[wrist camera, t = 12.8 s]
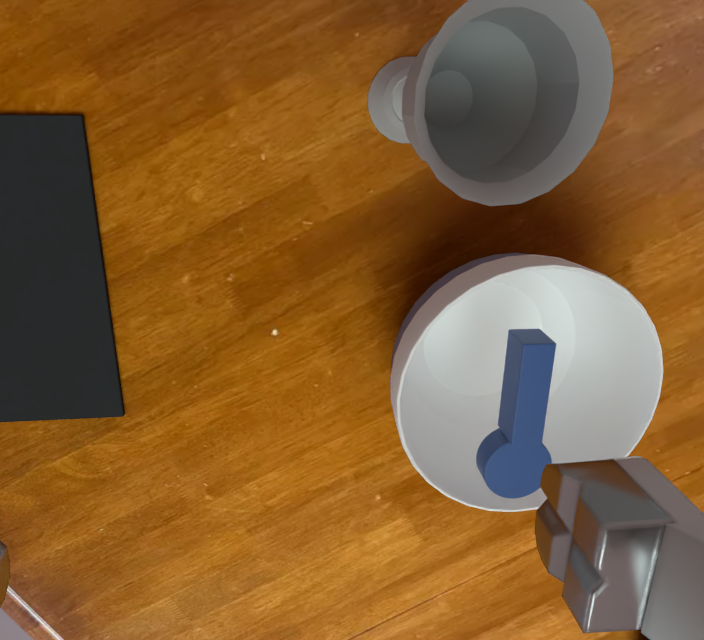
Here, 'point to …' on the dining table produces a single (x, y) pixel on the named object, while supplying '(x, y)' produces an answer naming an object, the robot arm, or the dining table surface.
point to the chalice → (501, 97)
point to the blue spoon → (520, 417)
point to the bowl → (489, 360)
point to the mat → (52, 277)
